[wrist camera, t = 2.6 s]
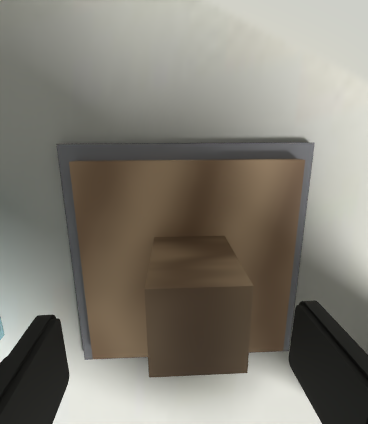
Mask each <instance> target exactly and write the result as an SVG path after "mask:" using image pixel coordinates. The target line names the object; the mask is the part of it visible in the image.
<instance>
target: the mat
mask: <svg viewBox="0 0 368 424" xmlns="http://www.w3.org/2000/svg"><path fill="white" fill-rule="evenodd" d="M57 151H58V159H59V166H60V174H61V182H62V189H63V197H64V205H65V212H66V220H67V228H68V235H69V243H70V251H71V258H72V266H73V273H74V281H75V289H76V296H77V304H78V312H79V319H80V327H81V335H82V342H83V350H84V358H85V360H88V359H93V357H92V349H91V340H90V332H89V324H88V315H87V307H86V299H85V291H84V282H83V274H82V266H81V257H80V249H79V241H78V232H77V224H76V216H75V208H74V199H73V191H72V183H71V174H70V166H69V162H71V161H101V160H222V159H303V160H305V167H304V176H303V184H302V193H301V201H300V210H299V219H298V227H297V236H296V245H295V253H294V262H293V270H292V279H291V288H290V296H289V305H288V313H287V322H286V331H285V339H284V348H283V351H289V346H290V338H291V330H292V322H293V314H294V306H295V298H296V289H297V281H298V273H299V265H300V257H301V249H302V241H303V233H304V225H305V216H306V208H307V200H308V192H309V184H310V176H311V168H312V160H313V151H314V143H155V144H57ZM272 352H276V351H272ZM249 353H253V352H249ZM130 358H135V357H130ZM107 359H111V358H107Z"/></svg>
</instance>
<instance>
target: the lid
mask: <svg viewBox="0 0 368 424" xmlns="http://www.w3.org/2000/svg"><path fill="white" fill-rule="evenodd" d="M69 166H70V174H71V183H72V191H73V199H74V208H75V216H76V224H77V232H78V241H79V249H80V257H81V266H82V274H83V282H84V291H85V299H86V307H87V315H88V324H89V332H90V340H91V349H92V357H93V359H107V358H130V357H148V367H149V377H169V376H191V375H212V374H234V373H247V369H248V355H249V352H272V351H283V348H284V339H285V331H286V322H287V313H288V305H289V296H290V288H291V279H292V270H293V262H294V253H295V245H296V236H297V227H298V219H299V210H300V201H301V193H302V184H303V176H304V167H305V160H303V159H222V160H101V161H71V162H69Z"/></svg>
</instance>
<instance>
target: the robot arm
mask: <svg viewBox="0 0 368 424" xmlns="http://www.w3.org/2000/svg"><path fill="white" fill-rule="evenodd" d="M289 363H290V367H291V369H292V370H293V372H294V374H295V376H296V378H297V379H298V381H299V383H300V385H301V387H302V388H303V390H304V392H305V394H306V396H307V397H308V399H309V401H310V403H311V405H312V406H313V408H314V410H315V412H316V413H317V415H318V417H319V419H320V421H321V422H322V424H368V355H367V354H366V353H365V351H364V350H363V349H362V348H361V347H360V346H359V345H358V344H357V343H356V342H355V341H354V340H353V339H352V338H351V337H350V336H349V335H348V333H347V332H346V331H345V330H344V329H343V328H342V327H341V326H340V325H339V324H338V323H337V322H336V321H335V320H334V319H333V318H332V317H331V316H330V314H329V313H328V312H327V311H326V310H325V309H324V308H323V307H322V306H321V305H320V304H319V303H318V302H317V301H302V302H300V304H299V305H297V306H296V309H295V316H294V323H293V330H292V338H291V345H290V352H289ZM68 381H69V369H68V363H67V357H66V351H65V345H64V339H63V333H62V327H61V322H60V319H56V317H55V315H39V316H37V317H36V318H35V319H34V320H33V322H32V323H31V324H30V326H29V327H28V329H27V330H26V331H25V333H24V334H23V336H22V337H21V339H20V340H19V341H18V343H17V344H16V346H15V347H14V348H13V350H12V351H11V353H10V354H9V355H8V356H7V357H6V358H4V359H3V360H2V362H1V363H0V424H52V423H53V421H54V418H55V416H56V413H57V410H58V408H59V405H60V403H61V400H62V398H63V395H64V392H65V390H66V387H67V385H68Z"/></svg>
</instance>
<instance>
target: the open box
mask: <svg viewBox="0 0 368 424" xmlns="http://www.w3.org/2000/svg"><path fill="white" fill-rule="evenodd" d="M3 336H4V331H3V327H2V322H1V318H0V340H1V338H2V337H3Z"/></svg>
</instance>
